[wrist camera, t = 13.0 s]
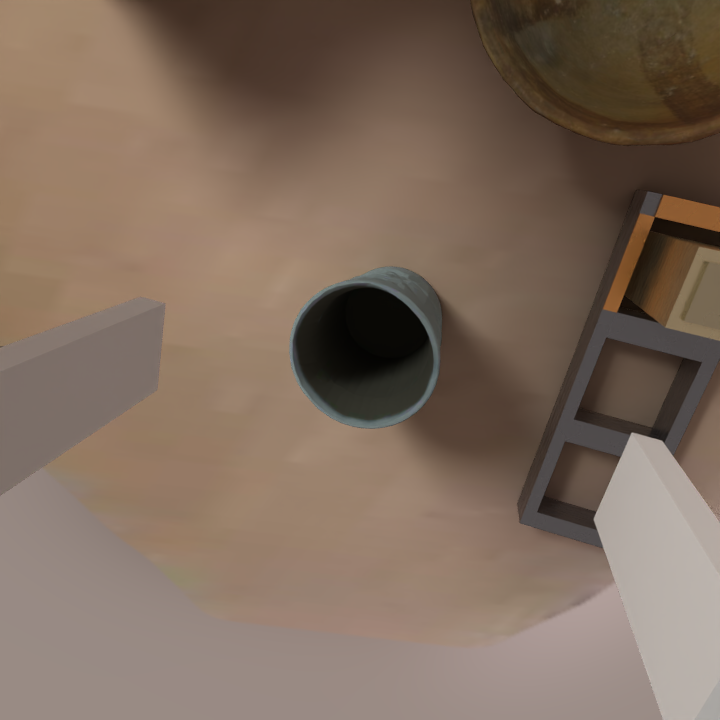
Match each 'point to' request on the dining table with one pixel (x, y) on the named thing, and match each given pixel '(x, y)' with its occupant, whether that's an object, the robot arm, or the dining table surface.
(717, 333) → the beige recessed-panel block
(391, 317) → the grey-green cup
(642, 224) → the grey compartment tray
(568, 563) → the dining table surface
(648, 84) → the bowl
